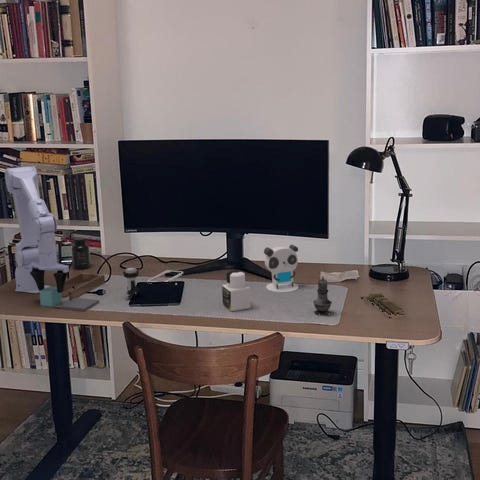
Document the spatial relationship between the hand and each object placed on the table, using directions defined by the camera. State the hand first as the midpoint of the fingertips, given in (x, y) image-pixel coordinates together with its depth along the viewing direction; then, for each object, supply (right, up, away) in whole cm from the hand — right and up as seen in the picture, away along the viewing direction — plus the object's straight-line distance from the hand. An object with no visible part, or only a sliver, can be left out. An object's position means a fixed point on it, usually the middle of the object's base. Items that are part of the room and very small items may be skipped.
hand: (50, 291), depth 223 cm
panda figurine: (+78, 0, +13) cm, 79 cm away
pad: (+10, -5, -2) cm, 12 cm away
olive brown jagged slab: (+110, -5, -8) cm, 110 cm away
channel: (+5, -1, +15) cm, 15 cm away
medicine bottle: (+62, -5, -6) cm, 63 cm away
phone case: (+36, +2, +27) cm, 45 cm away
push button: (+26, -3, +5) cm, 27 cm away
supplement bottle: (0, +6, +43) cm, 43 cm away
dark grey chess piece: (+90, -6, -13) cm, 91 cm away
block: (0, -4, +1) cm, 4 cm away
